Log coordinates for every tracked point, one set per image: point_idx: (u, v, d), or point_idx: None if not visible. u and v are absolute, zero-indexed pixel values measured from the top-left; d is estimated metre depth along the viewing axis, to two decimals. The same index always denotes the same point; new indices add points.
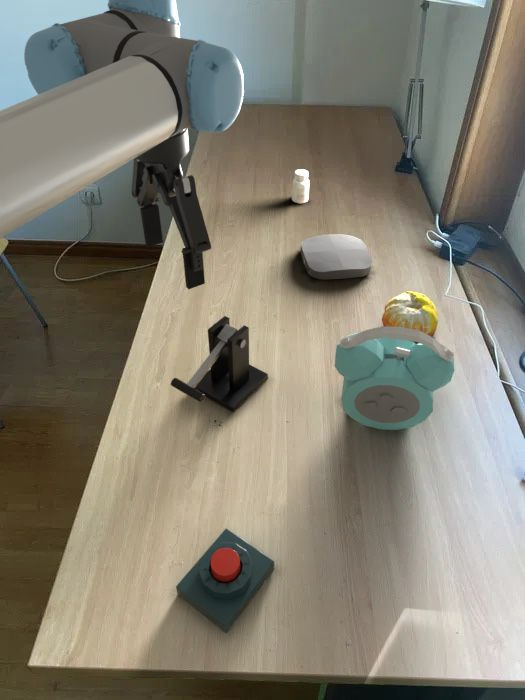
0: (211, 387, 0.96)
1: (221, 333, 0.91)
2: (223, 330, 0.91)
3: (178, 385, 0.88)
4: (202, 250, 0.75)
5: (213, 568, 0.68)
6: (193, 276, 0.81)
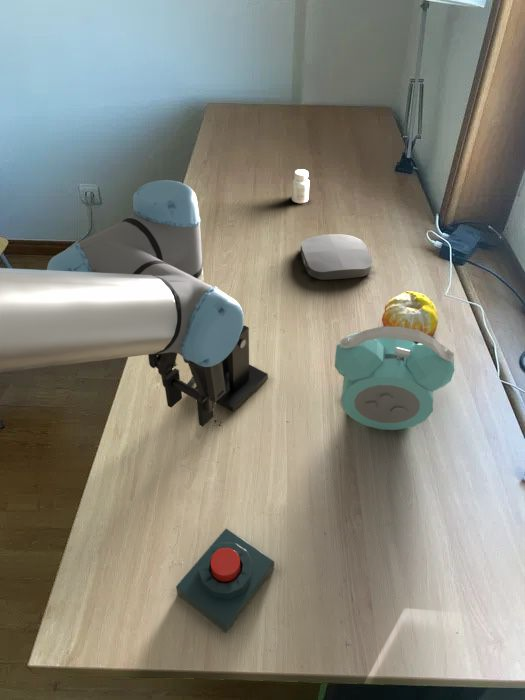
0: None
1: None
2: None
3: (178, 385, 0.88)
4: (219, 397, 0.83)
5: (213, 568, 0.68)
6: (205, 415, 0.88)
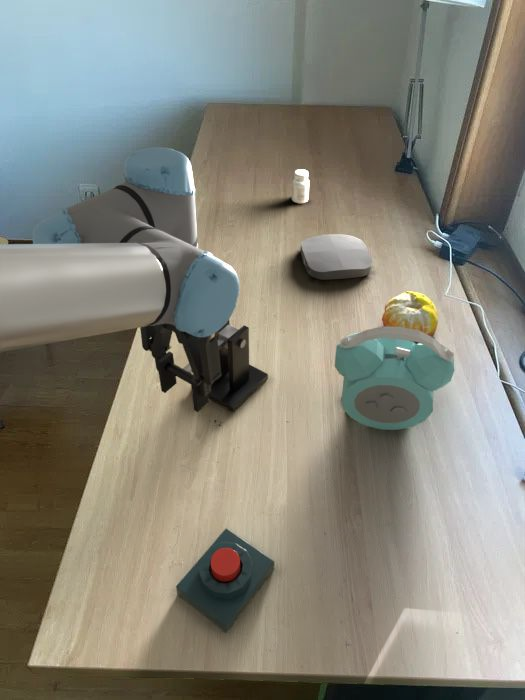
0: (211, 387, 0.96)
1: (223, 331, 0.91)
2: (225, 328, 0.91)
3: (173, 368, 0.85)
4: (215, 380, 0.80)
5: (213, 568, 0.68)
6: (200, 400, 0.85)
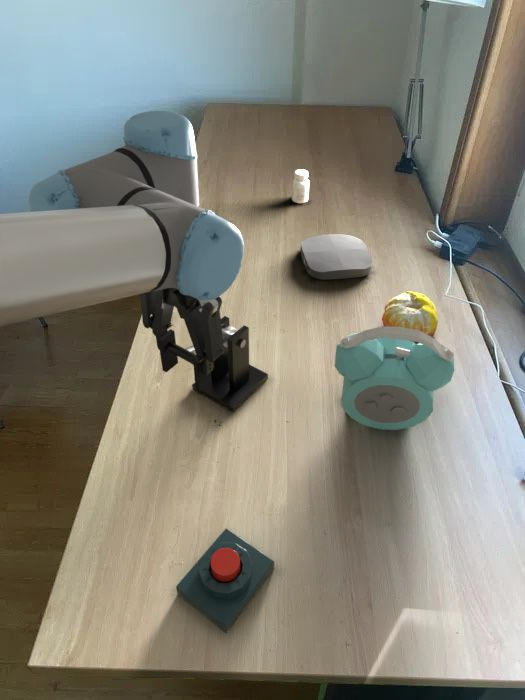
0: (211, 387, 0.96)
1: (224, 329, 0.91)
2: (226, 328, 0.91)
3: (175, 346, 0.83)
4: (217, 356, 0.78)
5: (213, 568, 0.68)
6: (203, 378, 0.83)
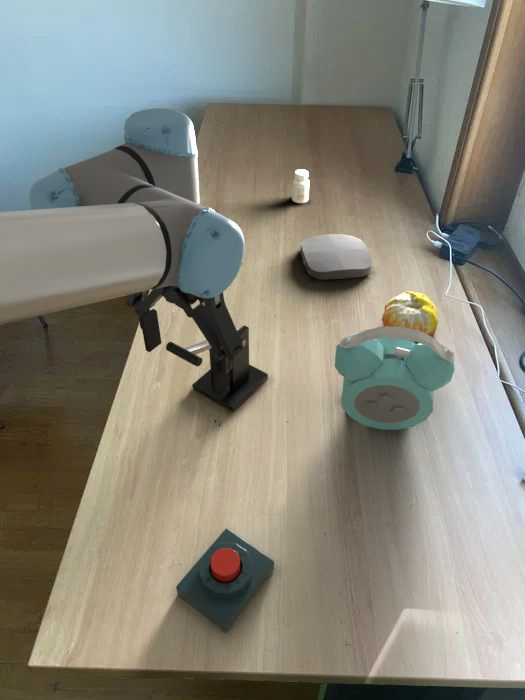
0: (211, 387, 0.96)
1: None
2: None
3: (175, 346, 0.83)
4: (237, 354, 0.75)
5: (213, 568, 0.68)
6: (221, 377, 0.80)
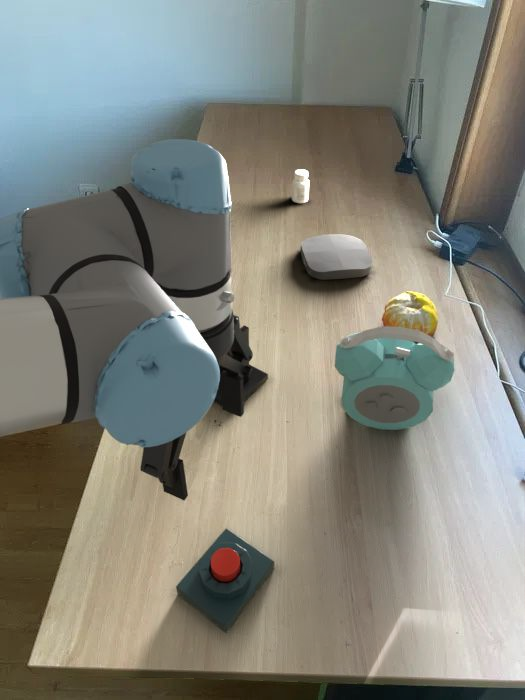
0: None
1: None
2: None
3: None
4: (150, 474, 0.56)
5: (213, 568, 0.68)
6: None
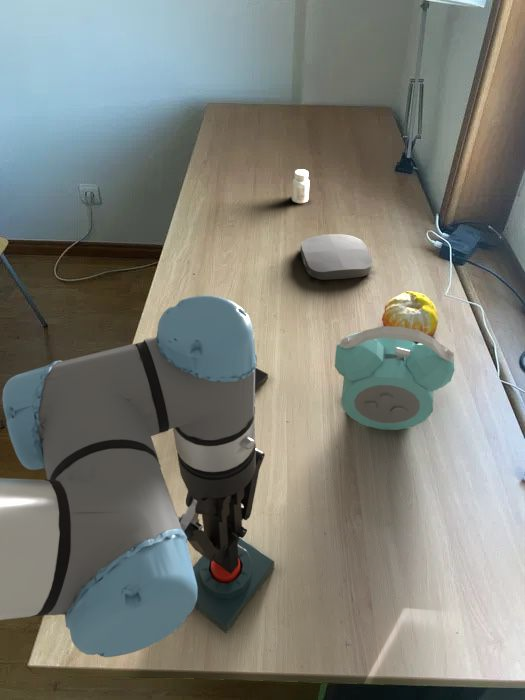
0: None
1: None
2: None
3: None
4: (202, 554, 0.62)
5: (213, 571, 0.69)
6: None
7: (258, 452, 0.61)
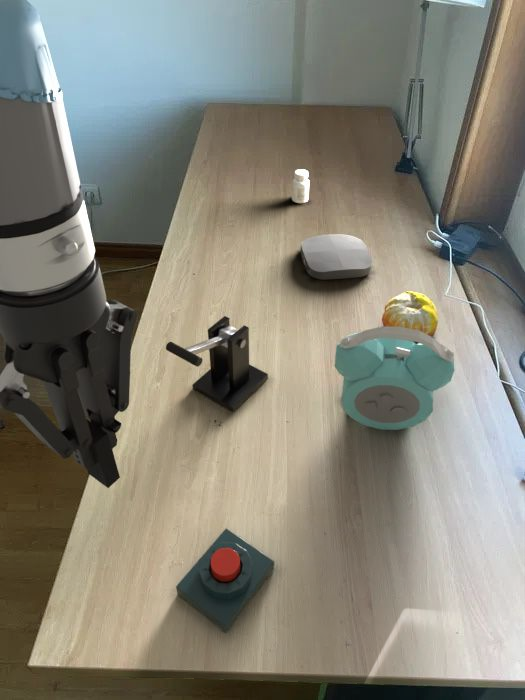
0: (211, 387, 0.96)
1: (224, 329, 0.91)
2: (226, 328, 0.91)
3: (175, 346, 0.83)
4: (52, 449, 0.46)
5: (213, 568, 0.68)
6: (91, 466, 0.52)
7: (127, 309, 0.45)
